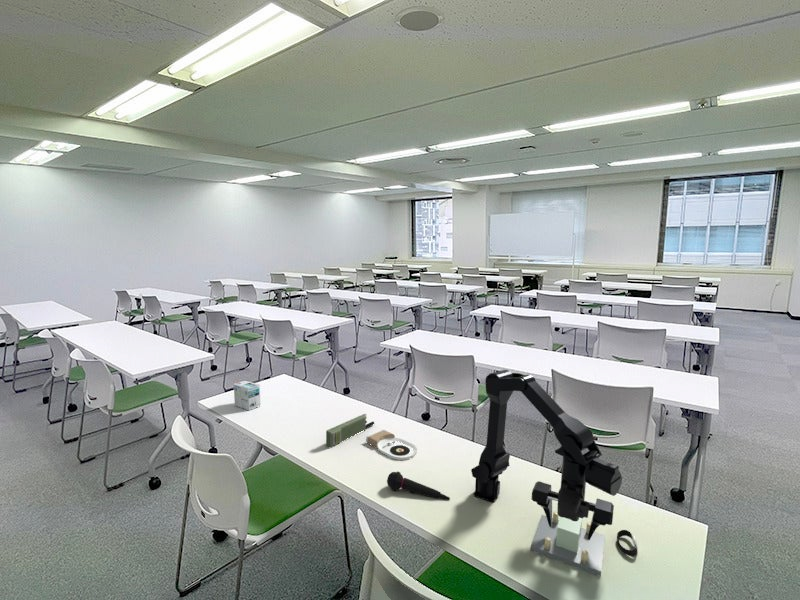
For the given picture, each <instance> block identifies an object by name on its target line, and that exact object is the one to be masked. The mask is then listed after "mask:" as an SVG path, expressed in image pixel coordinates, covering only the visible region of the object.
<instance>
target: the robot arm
mask: <svg viewBox="0 0 800 600" xmlns="http://www.w3.org/2000/svg"><path fill="white" fill-rule="evenodd" d="M484 382H485V383H484V384H485V393H486V395H487V397H488V399H489V410H488V419H487V420H488V421H487V422H488V423H487V433H486V444H485V447H484V448H483V451H481V454H480V457H479V461H478V465H476V466H475V467H473V468H471V470H470V471H471V475H472V477H473V478H474V479H475V484H474V485H475V486H474V487H475V488H474V492H473V494H472V496H473V497H476V498H479V499H482V500H484V501H488V502H491V503H494V502H495V501H496V499H497V498H498V497H499V495H500V489H501V481H500V480H499V476H500V475H502V474H503V472H505V471H506V470H507V468H509V467H510V457H511V454H510V453H508V452H507V451H506V450H505V448H504V444H505V443H504V440H505V432H506V431H505V429H506V420H507V410H508V409H507V408H508V401H510V400H509V399H510V398H511V396H512V395H513V393H514V392H520V393H522V395H523V396H524V397H525V398H526V399H527V401H529V403H530V404H531V405H532V406H533V407H534V408H535V409H536V410H537V411H538V413H540V415H541V416H542V417H543V418H544V419H545V420H546V421H547V423H549V424H550V426H551V427H552V429H553V433H554V436H555V439H556V440H557V441H558V442H559V444H560V447H559V448H557V449H555V450H554V453H555V454H557V455H559V456H562V462H561V463H562V465H561V479H560V488H559V490H558V492H557V491H553V490H552V485H551V484H549V483H547V482H546V483H545V482H542V481H536V482H535V484H534V487H533V489H532V491H531V500H532V501H533V502H536V505H538V506H539V507H541V508H542V509H543V511H544V515H545V516H546V517H547V521H548V524H549V527H551V525H552V518H553V501H556V502H557V504H556V505H557V508H556V509H557V511H556V512H557V514H558V515H559V518H560V517H562V518H563V517H564V518H567V519H570V520H572V521H578V520H579V518H582V520H583V519H584V518H586V519H587V518H589V513H590V512H592V517H591V521H590V523H591V524H590V528H589V533H588V540H590V538H591V537H592V535H593V533H594V532H596V530H597V528H598V527H599V526H604V527H605V526H606V525H608V526H611V525H613V519H614V511H615V510H614V507H615V506H614V504H613V502H611V501H607V500H605V499H601V498H596V500H595V503H594V502H591V501H588V500H585V498H586V497H585V496H586V488H587V487H586V486H587V484H588V485H590V486H591V487H594V488H596V489H597V490H600V491H602V492H604V493H606V494H608V495H611V496H612V497H614V496H616V495H617V494H618V493H619V491H620V489H621V486H622V482H623V476H622V473H621V471H620V470H619V469H620V467H619V465H617V464H615V463H610V462H608V461H606V460H603V459H601V458H600V457H602V452H601V450H600V449H599V447H598V444H597V443H596V440H595V439H594V433H593V432H592V430H591V429H590V428H589V427H588V426H586V424H584V423H583V422H581V420H579V419H577V418H576V417H573V416H571V415H569V414H568V413H567V412H566V411H565V410H563V408H562V407H561V406H560V405H559V404H558V403H557V402H556V401H555V400H554V399H553V398H552V396H550V394H548V392H547V391H546V390H545V389H544V388H543V387H542V386H541V385H540V384H539V383H538V381H536V378H535V377H534V376H533V375H531V374H525V373H524V374H523V373H519V372H511V370H508V369H502V370H499V371H495V372H492V373H489V374H488V375H486V377H485V380H484ZM586 449H587V450H588V451H587V452H586V453H585V452H584V453H582V452H583V451H584V450H586Z"/></svg>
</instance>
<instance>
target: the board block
mask: <svg viewBox="0 0 800 600" xmlns="http://www.w3.org/2000/svg"><path fill="white" fill-rule="evenodd" d="M558 520H559V523H558V527H557V539H556V546H559V547H562V548H565V549H567V550H570V551H573V552H576V553H578V547H579V542H580V537H581V528H583V527H582V525H583V519H582V518H579V520H578V521H572V520H570V519H567V518H564V517H563V518H562V517H560V516H559V519H558Z"/></svg>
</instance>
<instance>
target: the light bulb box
mask: <svg viewBox="0 0 800 600" xmlns="http://www.w3.org/2000/svg"><path fill="white" fill-rule="evenodd" d="M233 393H234V400H233V401H234V406H235V405H236V406H235V407H237V406H238V408H240V407H241V409H243V408H244V409H243V410H246V411H249V410H250V411H252V410H254V408H255V409H256V407H257V408H259V407H258V406H260V405H261V385H260V384H259V383H255V382H252V381H248V380H242V381H239V382H236V383H233ZM260 407H261V406H260ZM251 409H252V410H251Z"/></svg>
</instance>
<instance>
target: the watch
mask: <svg viewBox="0 0 800 600" xmlns="http://www.w3.org/2000/svg"><path fill="white" fill-rule="evenodd" d="M621 537H629V538H630V539H631V540H632V543H633V546H634V549H632V550H630V549H627V548H625V547H624V546H622V545H621V543H620V538H621ZM616 542H617V544H618V547H619V548H620V550H621V552H622V553H623V554H625V555H626V556H628V557H635V556H637V554H638V550H639V546H638V542H637V539H636V537H635V535H633V534H632V533H631V532H630V531H629V530H627V529H621V530H619V531H618V532H617V534H616Z"/></svg>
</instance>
